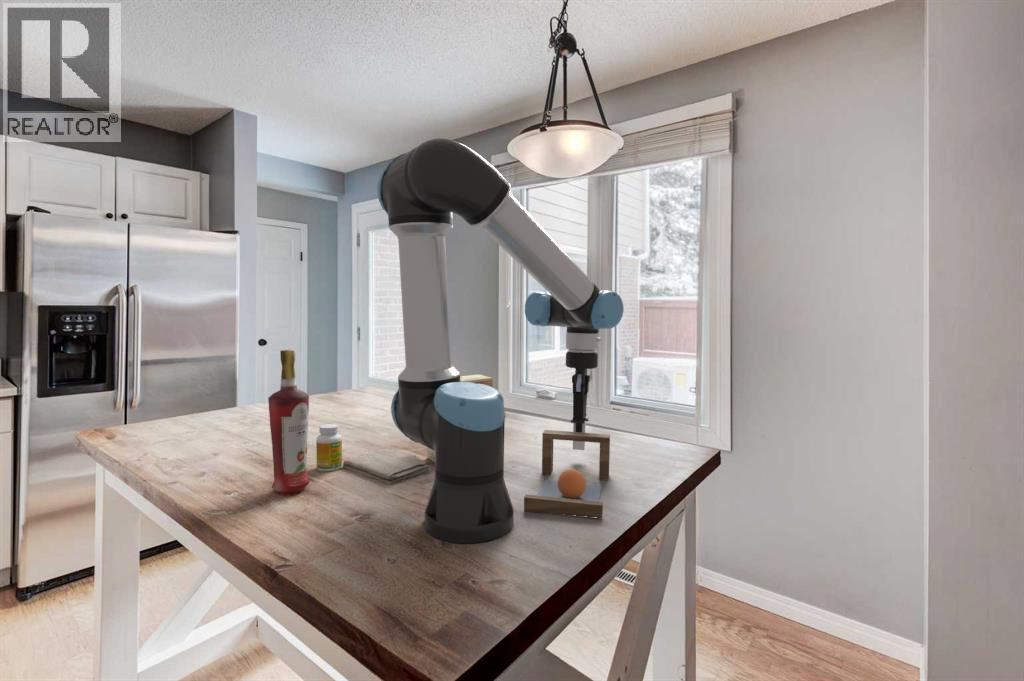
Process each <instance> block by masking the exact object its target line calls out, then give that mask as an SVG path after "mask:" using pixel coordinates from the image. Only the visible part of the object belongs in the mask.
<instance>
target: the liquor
mask: <svg viewBox="0 0 1024 681" xmlns="http://www.w3.org/2000/svg"><path fill="white" fill-rule="evenodd" d="M279 351H280V353H279V355H280V363H281V376H280V390H277V391H276V392H273V393H272V394H271V395H270V396H269V397H268V398H267V400H268V414H269V415H268V416H269V427H270V436H271V437H270V438H271V450H272V462H273V483H272V485H271V488H272V489H273V490H275V491H276V492H277V493H278V494H280V495H282V494H284V495H285V496H287V495H286V494H290V495H296V494H298V492H299V493H300V491H301V492H302V491H304V489H305V488H306V487H307V486H308V485H309V484H310V479H309V478H308V438H309V437H308V436H309V419H310V418H309V415H310V414H309V409H310V407H309V406H310V405H309V404H310V395H309V394H308V393H306V392H305V391H304V390H301V389H298V385H297V377H296V371H295V365H296V364H295V363H296V350H295V349H283V350H282V349H281V350H279ZM295 493H296V494H295ZM284 495H283V496H284Z"/></svg>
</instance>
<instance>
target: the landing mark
mask: <svg viewBox="0 0 1024 681" xmlns="http://www.w3.org/2000/svg"><path fill="white" fill-rule="evenodd" d="M602 487H603V486H602V484H595V483H594V484H593V483H586V488H585V491H584V493H583V494H582V495H581V496H580V497H578V498H575V499H577V500H587V501H596V502H600V499H599V498H601V493H600V492H602ZM536 495H537V496H547V497H557V498H567V497H565V496H563V495H562V494H561V492H560V491H559V489H558V480H551V479H544V480H543V482H542V483H541V486H540V488H539V490H538V493H537V494H536ZM567 499H570V498H567Z"/></svg>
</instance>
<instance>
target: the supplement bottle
mask: <svg viewBox="0 0 1024 681" xmlns="http://www.w3.org/2000/svg"><path fill="white" fill-rule="evenodd" d="M342 439H343V438H342V435H341V434H340V433H339V424H335V423H328V424H322V425H320V426H319V435H318V436H317V437H316V443H315V444H316V448H315V449H316V470H317V471H319V472H335V471H338V470H340V469H341V468H343V444H342V443H343V442H342V441H343V440H342Z"/></svg>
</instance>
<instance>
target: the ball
mask: <svg viewBox="0 0 1024 681" xmlns="http://www.w3.org/2000/svg"><path fill="white" fill-rule="evenodd" d="M557 481H558V489H559V491H560V492H561V494H562V495H563V496H565V497H567V498H570V499H575V498H578V497H580V496H581V495H582V494H583V493H584V491H585V488H586V484H587V482H586V477H585V476H584V475H583V473H582V472H580V471H579V470H578V469H573V468H571V469H565V470H564V471H563V472H561V473H560V475H559V476H558V479H557Z"/></svg>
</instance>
